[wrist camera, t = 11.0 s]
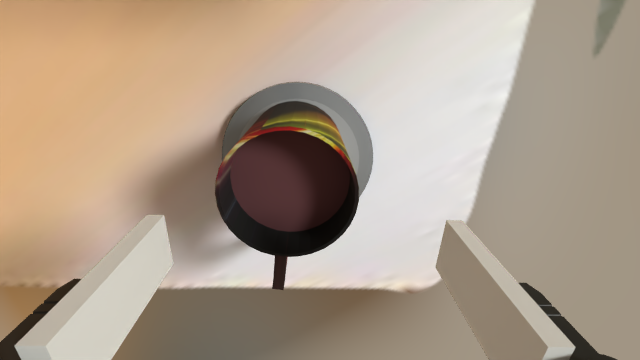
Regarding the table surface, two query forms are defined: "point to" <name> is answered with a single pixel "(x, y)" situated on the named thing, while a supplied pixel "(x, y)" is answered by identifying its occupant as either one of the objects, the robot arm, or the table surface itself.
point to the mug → (288, 184)
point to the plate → (323, 98)
